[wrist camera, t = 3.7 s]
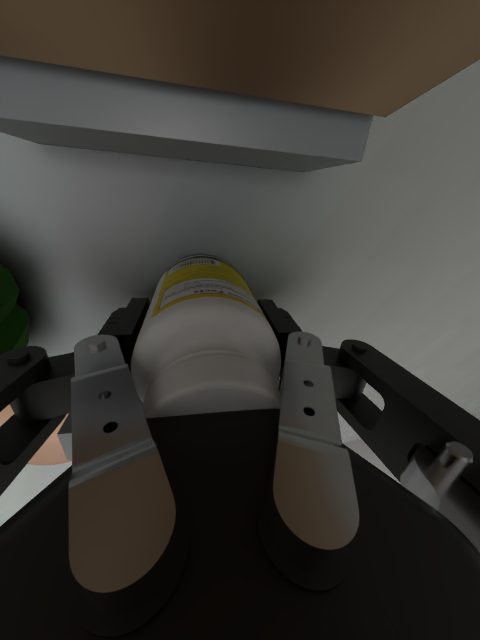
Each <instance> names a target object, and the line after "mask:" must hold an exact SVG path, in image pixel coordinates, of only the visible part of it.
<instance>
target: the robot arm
mask: <svg viewBox="0 0 480 640" xmlns="http://www.w3.org/2000/svg"><path fill="white" fill-rule="evenodd" d="M257 304H258V305H259V307H260V309H261V310H262V312H263V314H264V316H265V317H266V319H267V321H268V323H269V324H270V326H271V328H272V330H273V332H274V334H275V336H276V339H277V341H278V344H279V348H280V353H281V369H280V374H279V377H280V381H279V386H278V390H279V393H280V396H281V399H280V407H279V408H271V409H255V410H240V411H226V412H215V413H203V414H191V415H179V416H168V417H156V418H146V417H145V415H144V412H143V409H142V406H141V403H140V400H139V397H138V394H137V391H136V388H135V385H134V382H133V379H132V376H131V359H132V354H133V350H134V346H135V344H136V341H137V338H138V335H139V333H140V330H141V327H142V325H143V322H144V319H145V316H146V314H147V311H148V309H149V306H150V301H149V299H148V298H132V299H131V301H130V302H129V304H128V306H127V307H126V308H119V309H118V310H116V311H114V312H113V313H112V314H111V316H110V317H109V319H108V320H107V321H106V324H104V326H103V327H102V329H101V330H100V332H99V333H98V335H95V336H91V337H88V338H85V339H83V340H81V341H80V342H78V343H77V344H76V345H75V347H74V352H73V353H69V354H64V355H58V356H53V357H48V356H47V353H46V350H45V349H44V348H42V347H37V346H28V347H22V348H17V349H14V350H11V351H8V352H5V353H3V354H1V355H0V412H1V411H2V410H3V409H4V408H6V407H7V406H8V405H9V404H10V406H11V408H12V410H13V412H14V414H13V415H12V416H11V417H10V418H9V419H8V420H7V421H6V422H5V423H4V424H3V425H2V426H0V496H1V494H2V493H3V492H4V491H5V490H6V488H7V487H8V486H9V485H10V484H11V482H12V481H13V480H14V479H15V478H16V476H17V475H18V474H19V473H20V472H21V470H22V469H23V468H24V467H25V465H26V464H27V463H28V462H29V461H30V459H31V458H32V457H33V456H34V455H35V453H36V452H37V451H38V450H39V449H40V447H41V446H42V445H43V444H44V443H45V441H46V440H47V439H48V438H49V436H50V435H51V434H52V433H53V432H54V430H55V429H56V428H57V427H58V426H59V424H60V423H61V422H62V421H63V420H64V418H65V417H66V414H68V413H71V420H72V466H70V467H69V468H68V469H67V470H66V471H65V472H63V473H62V474H61V475H60V476H59V477H58V478H56V479H55V480H54V481H53V482H52V483H51V484H49V485H48V486H47V487H46V488H45V489H44V490H42V491H41V492H40V493H39V494H38V495H37V496H35V497H34V498H33V499H32V500H31V501H30V502H28V503H27V504H26V505H25V506H24V507H22V508H21V509H20V510H19V511H18V512H17V513H15V514H14V515H13V516H12V517H11V518H10V519H8V520H7V521H6V522H5V523H4V524H3V525H2V526H0V640H480V420H478V419H477V418H475V417H474V416H473V415H471V414H470V413H468V412H467V411H465V410H464V409H462V408H461V407H459V406H458V405H457V404H455V403H454V402H452V401H451V400H449V399H448V398H446V397H445V396H443V395H442V394H441V393H439V392H438V391H436V390H435V389H433V388H432V387H430V386H429V385H427V384H426V383H425V382H423V381H422V380H420V379H419V378H417V377H416V376H414V375H413V374H411V373H410V372H409V371H407V370H406V369H404V368H403V367H401V366H400V365H398V364H397V363H395V362H394V361H393V360H391V359H390V358H388V357H387V356H385V355H384V354H382V353H381V352H379V351H378V350H376V349H375V348H374V347H372V346H371V345H369V344H367V343H365V342H362V341H358V340H350V339H349V340H344V341H343V342H342V343H341V346H340V349H337V348H331V347H325V346H322V342H321V340H320V339H319V338H318V337H317V336H315V335H313V334H310V333H307V332H302V330H301V329H300V328H299V326H298V325H297V324H296V322H295V321H294V320H293V318H292V317H291V316H290V314H289V313H288V312H286V311H285V310H283V309H282V308H277V306H276V305H275V303H274V302H273V300H271V299H258V300H257ZM366 382H367V383H368V384H369V385H370V386H371V387H373V388H374V389H375V390H376V391H377V392H378V393H380V395H381V396H382V397H383V399H384V403H385V406H384V409H383V411H381V410H380V409H379V408H378V407H377V406H376V405H375V404H374V403H373V402H372V401H371V400H369V399H368V398H367V397H366V396H365V395H364V394H363V393H362V392H363V389H364V387H365V385H366ZM337 411H338V412H339V414H340V415H341V416H342V417H343V418H344V419H345V420H346V422H347V423H348V424H349V425H350V426H351V427H352V428H353V429H354V431H355V432H356V433H357V434H358V435H359V436H360V437H361V439H362V440H363V441H364V442H365V443H366V444H367V445H368V446H369V448H370V449H371V450H372V451H373V452H374V453H375V454H376V456H378V458H379V459H380V460H381V461H382V462H383V464H384V465H385V466H386V467H387V468H388V469H389V470H390V471H391V473H392V474H393V475H394V476H395V477H396V478H397V479H398V480H399V482H400V483H401V484H399V483H398V482H396V481H395V480H394V479H392V478H391V477H389V476H388V475H386V474H385V473H384V472H382V471H381V470H379V469H378V468H377V467H375V466H374V465H372V464H371V463H369V462H368V461H367V460H365V459H364V458H362V457H361V456H360V455H358V454H357V453H355V452H354V451H353V450H351V449H350V448H348V447H347V446H345V445H344V444H343V443H342V439H341V433H340V426H339V420H338V413H337Z"/></svg>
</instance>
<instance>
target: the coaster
mask: <svg viewBox="0 0 480 640" xmlns="http://www.w3.org/2000/svg"><path fill="white" fill-rule="evenodd" d="M13 414H14V412H13V410H12V408H11V406H10V404H9V405H8V406H7V407H6V408H4V409H3V410H2V411H1V412H0V426H2V425H3V424H4V423H5V422H6V421H7V420H8V419H9V418H10V417H11V416H12V415H13ZM68 414H69V413H68ZM68 414H66V417H65V418H64V420H63V421H62V422H61V423H60V424H59V426H58V427H57V428H56V429H55V430H54V432H53V433H52V434H51V435H50V436H49V438H48V439H47V440H46V441H45V443H44V444H43V445H42V446H41V447H40V449H39V450H38V451H37V452H36V453H35V455H34V456H33V457H32V458H31V459H30V461H29V462H28V463H27V464H31V465H55V464H62V463H66V462H70V461H72V460H67V458H66V455H65V453H64V451H63V448H62V446H61V443H60V441H59V438H58V436H57V433H58V431H59V430H60V428H61V426H62V424H63V423H64V421H65V419H66V418H67V416H68Z"/></svg>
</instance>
